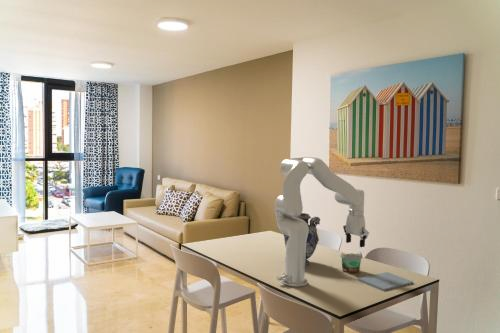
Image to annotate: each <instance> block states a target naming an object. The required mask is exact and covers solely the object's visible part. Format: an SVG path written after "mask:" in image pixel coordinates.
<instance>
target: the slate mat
mask: <svg viewBox="0 0 500 333" xmlns="http://www.w3.org/2000/svg"><path fill="white" fill-rule="evenodd" d="M357 281H359V282H361V283H363V284H366V285H368V286H371V287H373V288H375V289H377V290H381V291H382V292H386V291H389V290H393V289H397V287H398V288H400V287H405V286H409V285H413V284H414V281H412V280H411V279H407V278H405V277H402V276H399V275H397V274H393V273H391V272H388V271H386V272H380V273H376V274H373V275H372V274H371V275H367V276H364V277H358V278H357ZM412 283H413V284H412ZM408 284H409V285H408ZM404 285H405V286H404Z"/></svg>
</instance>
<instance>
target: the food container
mask: <svg viewBox="0 0 500 333" xmlns="http://www.w3.org/2000/svg"><path fill="white" fill-rule="evenodd" d="M340 257H341V269H342V270H341V272H343V273H346V274H351V275H352V274H353V275H354V274H358V273H360V269H361V262H362V259H363V253H362V252H361V251H360V252H359V253H348V254H346V253H343V252H341V254H340Z"/></svg>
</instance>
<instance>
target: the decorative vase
mask: <svg viewBox="0 0 500 333" xmlns="http://www.w3.org/2000/svg"><path fill="white" fill-rule="evenodd" d="M296 218H300V219H302V220H304V221H305V222H306V223H307V224H308V227H309V232H308V236H307V241H306V257H305V266H307V265H309V264H310V261H309V260H308V259H310V258H311V257H312V256H313V255H314V253H315V250H316V248H317V246H318V244H319V240H320V239H319V235H318V228H317V225H320V224H321V223H320V221H321V219H320V217H319V216H314V217H311V216H310V214H308V213H305V212H302V213H301V215H299V216H297V217H296ZM283 237H284V245H285V247H286V245H287V241H288V239H289V235H286V234H284V233H283Z"/></svg>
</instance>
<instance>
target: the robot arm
mask: <svg viewBox="0 0 500 333" xmlns="http://www.w3.org/2000/svg"><path fill="white" fill-rule="evenodd" d="M279 170H280V173H281V174H282V175H284V179H283V181H282V185H281V192H282V194H280V195H279V196H277V197H276V199H275V200H274V214H275V219H276V225H277V228H278V230H279V232H281V233H282V234H283V235H284V234H286V235H289V239H288V241H287V245H286V246H285V265H284V266H285V270H284V272H283V274H282V275H281V276H277V277H276V281H279V282H280V281H281V283H282V284H284V285H286V286H289V287H295V288H297V287H298V288H300V287H304V286H307V284H308V281H309V280H307V278H305V275H306V274H305V273H306V265H305V257H306V241H307V236H308V232H309V227H308V224H309V223H308V224H307V223H306V222H305V221H304V220H302V219H300V218H296V217H297V216H299V215H301V213H303V208H304V207H303V200H302V195H301V194H302V193H301V183H302V181H303V180H304V178H305V177H306V176H307V174H308V175H312V176H313V177H314V178H315V179H316V180H317V181H318V182H319V184H321V186H322V187H324V188H326V189H327V190H328V191H329V190H330V191H331V192H334V193H335V194H334V199H335V201H336V202H337V203H339V204H342V205H346V206H349V207H348V214H347V217H346V220H345V221H346V224H345V225H343V226H342V227H343V231H344V234H345V243H347V244H348V243H351V242H352V235H353V236H359V248H365V246H366V239H367V238H368V237H369V235H370V232H369V231H368V230H367V229H366V221H365V220H366V218H365V216H364V213H365V212H364V211H365V191H364V190H363V189H357V188H355V187H354V186H353V185H352V184H351V183H350V182H348V181H346V180H345V179H344V178H341V177H340V176H338V175H337V174H336V173H335V172H334V171H333V170H332V169H331V168H330V167H329V166H328V164H326V163H325V162H324V160H323V159H321V158H318V157H311V156H310V157H308V156H304V157H293V158H291V157H290V158H285V159H283V160H282V161H281V162H280V165H279Z"/></svg>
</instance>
